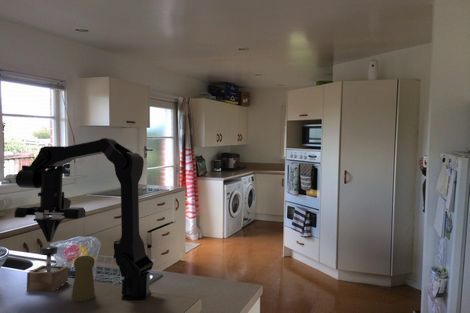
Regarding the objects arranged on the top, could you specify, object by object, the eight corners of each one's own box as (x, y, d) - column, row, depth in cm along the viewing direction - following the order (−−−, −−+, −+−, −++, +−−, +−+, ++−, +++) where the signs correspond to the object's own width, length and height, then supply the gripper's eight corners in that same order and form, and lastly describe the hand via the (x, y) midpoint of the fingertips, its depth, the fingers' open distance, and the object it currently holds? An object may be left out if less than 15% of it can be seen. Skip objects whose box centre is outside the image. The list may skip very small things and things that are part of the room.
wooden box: (67, 282, 113) (68, 266, 113) (54, 291, 105) (55, 273, 105) (41, 281, 113) (42, 265, 113) (26, 290, 105) (27, 272, 105)
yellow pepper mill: (86, 302, 97) (87, 259, 98) (66, 300, 98) (67, 258, 99) (99, 294, 103) (100, 254, 104) (80, 292, 104) (81, 253, 105)
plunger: (62, 270, 112) (63, 246, 112) (52, 276, 106) (53, 250, 107) (44, 270, 112) (44, 245, 112) (33, 275, 107) (34, 249, 107)
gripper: (93, 188, 118) (91, 237, 117) (35, 186, 118) (33, 235, 118) (77, 190, 107) (76, 244, 106) (14, 188, 107) (11, 243, 107)
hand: (49, 241), depth 110 cm, fingers closed
